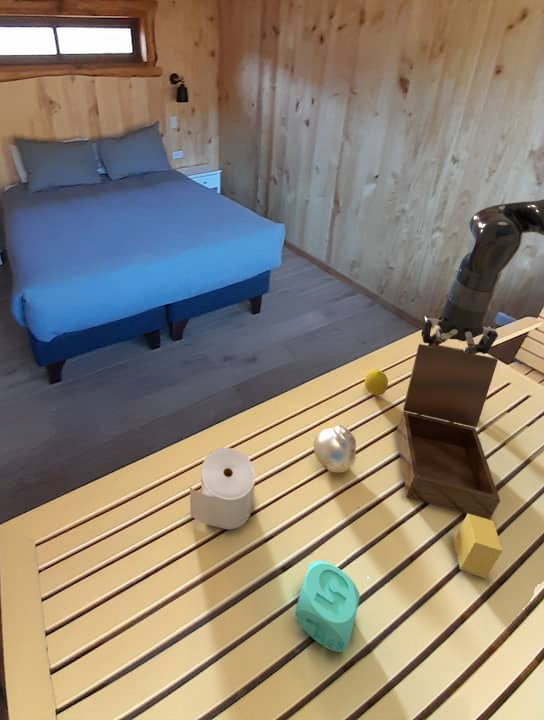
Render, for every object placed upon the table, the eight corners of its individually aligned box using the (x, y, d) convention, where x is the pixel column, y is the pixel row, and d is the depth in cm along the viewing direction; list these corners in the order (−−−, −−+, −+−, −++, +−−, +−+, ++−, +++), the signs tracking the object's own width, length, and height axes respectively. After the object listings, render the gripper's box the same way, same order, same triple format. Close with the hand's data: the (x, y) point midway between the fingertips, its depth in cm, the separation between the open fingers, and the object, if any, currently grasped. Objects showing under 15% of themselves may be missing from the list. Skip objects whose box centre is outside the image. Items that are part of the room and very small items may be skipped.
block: (477, 548, 75) (493, 520, 71) (485, 578, 71) (502, 551, 67) (453, 540, 76) (467, 513, 72) (459, 569, 72) (475, 542, 68)
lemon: (385, 390, 109) (391, 368, 105) (383, 404, 105) (389, 382, 101) (364, 382, 112) (369, 361, 108) (360, 396, 107) (366, 374, 104)
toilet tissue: (260, 494, 85) (264, 464, 80) (234, 548, 76) (236, 518, 72) (217, 468, 90) (218, 438, 86) (187, 515, 81) (187, 485, 77)
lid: (498, 360, 84) (489, 347, 89) (419, 345, 89) (415, 334, 94) (476, 427, 90) (469, 412, 94) (403, 410, 94) (400, 396, 99)
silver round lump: (361, 481, 87) (370, 451, 83) (318, 481, 87) (324, 451, 83) (346, 443, 95) (353, 414, 91) (306, 444, 95) (311, 415, 91)
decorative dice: (292, 624, 66) (297, 600, 62) (308, 575, 72) (313, 551, 68) (342, 661, 62) (350, 638, 58) (354, 606, 68) (362, 582, 64)
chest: (488, 521, 79) (500, 500, 76) (406, 497, 84) (413, 476, 81) (466, 448, 93) (475, 428, 90) (396, 430, 98) (402, 410, 95)
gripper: (503, 296, 86) (478, 355, 93) (427, 285, 90) (410, 342, 98) (516, 317, 79) (488, 379, 87) (434, 304, 84) (414, 364, 91)
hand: (447, 359), depth 92 cm, fingers open, 6 cm apart
